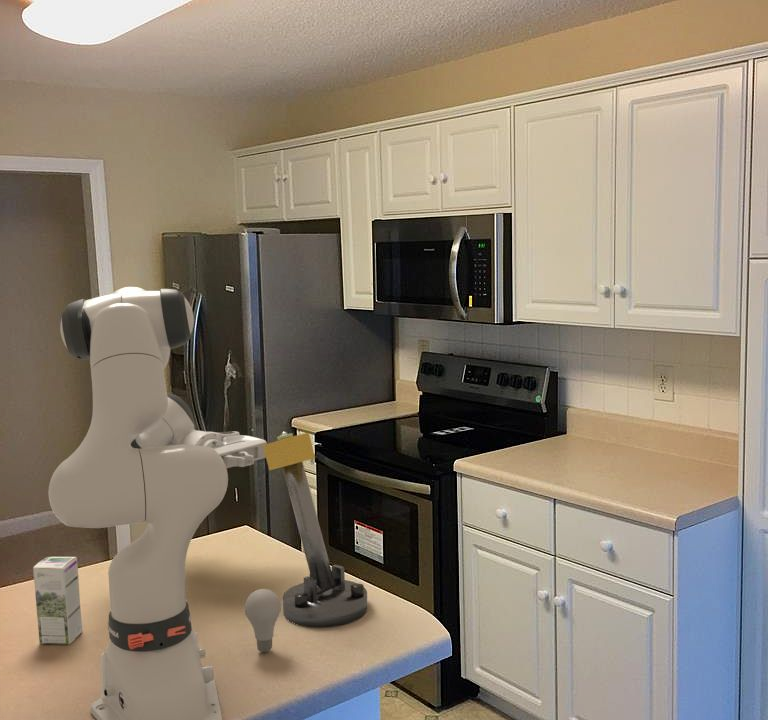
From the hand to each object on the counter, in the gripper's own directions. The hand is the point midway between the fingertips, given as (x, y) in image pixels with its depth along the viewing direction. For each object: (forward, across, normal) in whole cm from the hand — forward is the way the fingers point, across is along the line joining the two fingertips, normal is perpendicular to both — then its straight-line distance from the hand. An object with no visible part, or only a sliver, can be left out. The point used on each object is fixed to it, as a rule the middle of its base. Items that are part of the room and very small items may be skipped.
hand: (248, 461), depth 175 cm
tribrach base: (+20, 0, +26) cm, 33 cm away
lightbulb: (+24, -19, +26) cm, 40 cm away
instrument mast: (+20, 0, +22) cm, 30 cm away
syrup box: (-10, -37, +26) cm, 47 cm away
